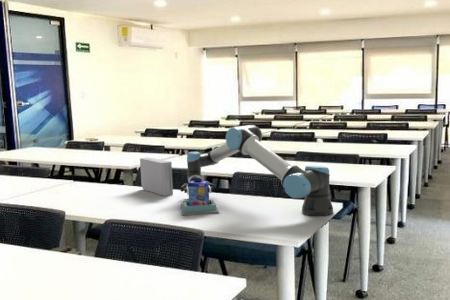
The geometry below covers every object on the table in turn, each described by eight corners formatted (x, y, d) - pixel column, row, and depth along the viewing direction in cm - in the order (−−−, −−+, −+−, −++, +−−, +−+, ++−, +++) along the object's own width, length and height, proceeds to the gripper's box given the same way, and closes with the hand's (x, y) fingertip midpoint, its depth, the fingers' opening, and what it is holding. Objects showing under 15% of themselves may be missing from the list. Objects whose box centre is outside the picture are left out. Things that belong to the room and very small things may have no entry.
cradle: (218, 213, 248) (218, 206, 248) (183, 215, 246) (182, 209, 246) (214, 203, 268) (214, 197, 268) (181, 206, 266) (180, 199, 265)
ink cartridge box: (188, 205, 255) (187, 178, 253) (191, 203, 261) (190, 176, 259) (206, 206, 253) (205, 178, 251) (209, 203, 258) (208, 176, 256)
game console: (164, 196, 290) (163, 163, 287) (141, 189, 311) (139, 158, 308) (173, 194, 294) (171, 161, 291) (149, 188, 315) (147, 157, 312)
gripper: (216, 188, 275) (222, 197, 254) (175, 190, 272) (176, 199, 251) (216, 174, 274) (221, 182, 253) (174, 177, 271) (176, 185, 250)
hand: (199, 191), depth 252 cm, fingers closed on ink cartridge box, 11 cm apart
